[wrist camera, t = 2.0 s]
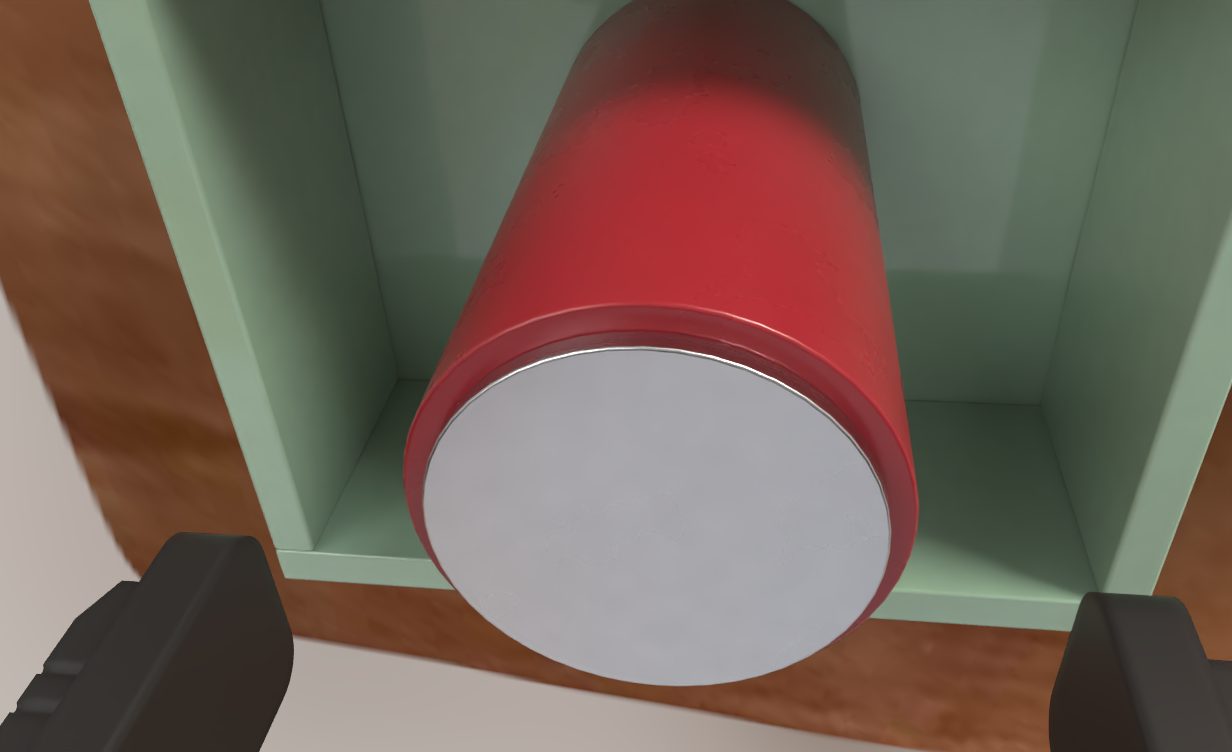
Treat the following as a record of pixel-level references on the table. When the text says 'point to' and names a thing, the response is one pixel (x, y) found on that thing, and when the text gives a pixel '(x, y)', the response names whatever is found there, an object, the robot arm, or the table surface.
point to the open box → (908, 223)
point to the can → (678, 364)
